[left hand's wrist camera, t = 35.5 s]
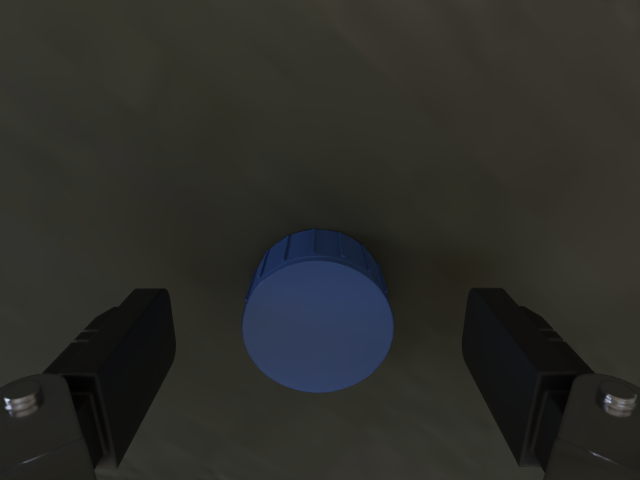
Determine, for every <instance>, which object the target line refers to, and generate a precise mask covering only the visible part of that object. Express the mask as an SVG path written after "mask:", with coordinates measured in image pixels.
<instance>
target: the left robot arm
mask: <svg viewBox="0 0 640 480" xmlns="http://www.w3.org/2000/svg"><path fill="white" fill-rule="evenodd" d="M175 350H176V339H175V332H174V324H173V317H172V310H171V303H170V296H169V293H168V291H167V290H166V289H135V290H133V291H132V293H131V294H130V295H129V296H128V297H127V298H126V299H125V300H124V301H123V303H122V304H121V305H120V306H119V307H113V308H111V309H110V310H108V311H106V312H104V313H103V314H101V315H99V316H97V317H96V318H95V319H94V320H93V321H92V322H91V323H90V324H89V325H88V326H87V327H86V328H85V329H84V332H81V333H80V334H79V335H78V337H77V338H76V339H75V340H74V343H71V344H70V345H69V346H68V347H67V348H66V349H65V350H64V351H63V352H62V353H61V354H60V355H59V356H58V357H57V358H56V360H55V361H54V362H53V363H52V364H51V365H50V366H49V367H48V368H47V369H46V370H45V371H44V372H43V373H42V374H36V375H31V376H27V377H24V378H21V379H18V380H15V381H13V382H11V383H8V384H6V385H5V386H3V387H1V388H0V480H97V478H96V475H95V472H94V470H95V468H118V466H119V464H120V462H121V460H122V459H123V457H124V455H125V453H126V451H127V449H128V447H129V445H130V443H131V441H132V440H133V438H134V436H135V434H136V432H137V430H138V428H139V426H140V424H141V422H142V421H143V419H144V417H145V415H146V413H147V411H148V409H149V407H150V405H151V403H152V401H153V400H154V398H155V396H156V394H157V392H158V390H159V388H160V386H161V384H162V382H163V381H164V379H165V377H166V375H167V373H168V371H169V369H170V367H171V365H172V363H173V360H174V357H175ZM462 351H463V357H464V360H465V363H466V365H467V367H468V369H469V371H470V373H471V375H472V377H473V379H474V380H475V382H476V384H477V386H478V388H479V390H480V392H481V394H482V396H483V398H484V400H485V402H486V404H487V405H488V407H489V409H490V411H491V413H492V415H493V417H494V419H495V421H496V423H497V425H498V427H499V429H500V430H501V432H502V434H503V436H504V438H505V440H506V442H507V444H508V446H509V448H510V450H511V452H512V454H513V455H514V457H515V459H516V461H517V463H518V465H519V467H542V469H543V471H544V472H545V475H544V478H543V480H640V388H639V387H637V386H636V385H634V384H632V383H629V382H627V381H625V380H622V379H619V378H616V377H613V376H609V375H604V374H595V373H594V372H593V370H592V369H591V368H590V367H589V366H588V365H587V364H586V363H585V362H584V361H583V360H582V359H581V358H580V357H579V356H578V355H577V354H576V353H575V351H574V350H573V349H572V348H571V347H570V346H569V345H568V344H567V343H566V342H563V339H562V338H561V337H560V336H559V335H558V334H557V333H556V331H553V328H552V327H551V326H550V325H549V324H548V323H547V322H546V321H545V320H544V319H543V318H542V317H541V316H539V315H538V314H536V313H534V312H533V311H531V310H529V309H527V308H526V307H524V306H518V305H517V304H516V303H515V302H514V300H513V299H512V298H511V297H510V296H509V295H508V294H507V293H506V291H505V290H504V289H502V288H472V289H471V290H470V292H469V295H468V300H467V307H466V315H465V322H464V329H463V337H462Z"/></svg>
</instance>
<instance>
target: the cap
mask: <svg viewBox="0 0 640 480" xmlns="http://www.w3.org/2000/svg"><path fill="white" fill-rule="evenodd" d="M387 293H388V291H387V288H386V285H385V282H384V278H383V275H382V272H381V269H380V266H379V264H378V263H376V262H375V260H374V259H373V257H372V256H371V254H370V253H369V252H368V251H367V250H366V248H365V246H364V245H363V244H360V243H359V242H357V241H356V240H354V239H352V238H351V237H348V236H346V235H344V234H342V232H339V233H338V232H335V231H330V230H319V229H318V230H315V228H314V229H312V230H307V231H302V232H298V233H295V234H292V235H290V236H289V235H287V236H286V238H284V239H282V240H281V241H279V242H278V243H277V244H275V245H274V246H273V247H272V248H271V249H270V250H267V251H266V253H265V256H264V258H263V259H262V261H261V263H260V265H259V267H258V270H257V271H256V270H255V272H254V275H253V278H252V281H251V284H250V287H249V290H248V293H247V295H246V298H245V302H247V303H246V306H245V309H244V312H243V317H242V335H243V340H244V344H245V347H246V349H247V351H248V353H249V356H250V357H251V359H252V360H253V362H254V363H255V364H256V365H257V367H258V368H259V369H260V370H261V371H262V372H263V373H264V374H266V375H267V376H268V377H270V378H271V379H272V380H274V381H276V382H278V383H279V384H281V385H284V386H286V387H289V388H291V389H295V390H299V391H304V392H314V393H322V392H332V391H337V390H341V389H345V388H347V387H350V386H352V385H355V384H357V383H358V382H360V381H362V380H364V379H365V378H366V377H368V376H369V375H370V374H372V373H373V372H374V371H375V370H376V369H377V368H378V367H379V365H380V364H381V363H382V362H383V360H384V359H385V357H386V355H387V353H388V351H389V349H390V347H391V343H392V340H393V334H394V315H393V312H392V309H391V306H390V303H389V300H388V297H387Z"/></svg>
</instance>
